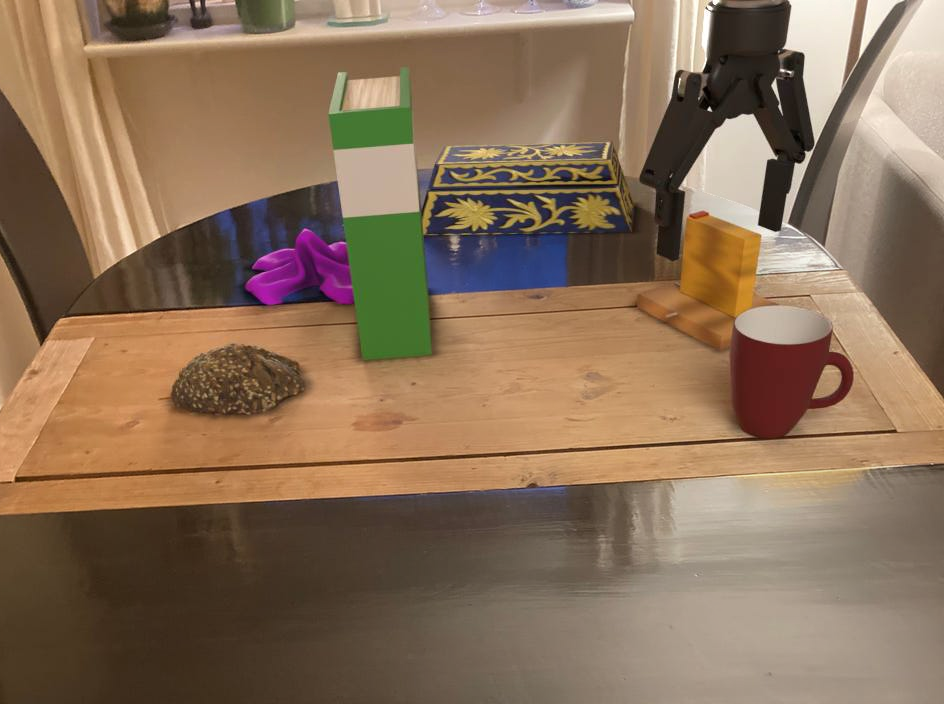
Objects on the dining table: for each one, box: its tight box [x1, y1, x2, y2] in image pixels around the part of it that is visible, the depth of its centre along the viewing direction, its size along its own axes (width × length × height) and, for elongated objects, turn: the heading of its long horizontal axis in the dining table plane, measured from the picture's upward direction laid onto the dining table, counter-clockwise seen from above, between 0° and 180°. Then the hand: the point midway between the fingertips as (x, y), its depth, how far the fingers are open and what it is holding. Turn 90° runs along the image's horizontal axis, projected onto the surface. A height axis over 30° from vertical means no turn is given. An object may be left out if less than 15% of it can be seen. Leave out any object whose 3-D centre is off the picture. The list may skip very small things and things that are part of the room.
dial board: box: [636, 280, 780, 351], centre depth 104 cm, size 14×13×2 cm
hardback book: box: [328, 66, 433, 361], centre depth 100 cm, size 18×7×24 cm, turn 3°
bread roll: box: [170, 342, 306, 416], centre depth 97 cm, size 13×12×5 cm
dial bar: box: [680, 210, 762, 317], centre depth 101 cm, size 9×2×8 cm, turn 29°
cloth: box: [244, 228, 355, 306], centre depth 120 cm, size 22×19×6 cm
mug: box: [729, 304, 855, 440], centre depth 83 cm, size 10×8×10 cm
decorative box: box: [421, 141, 635, 236], centre depth 129 cm, size 11×30×9 cm, turn 82°
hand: (719, 242), depth 99 cm, fingers open, 13 cm apart
